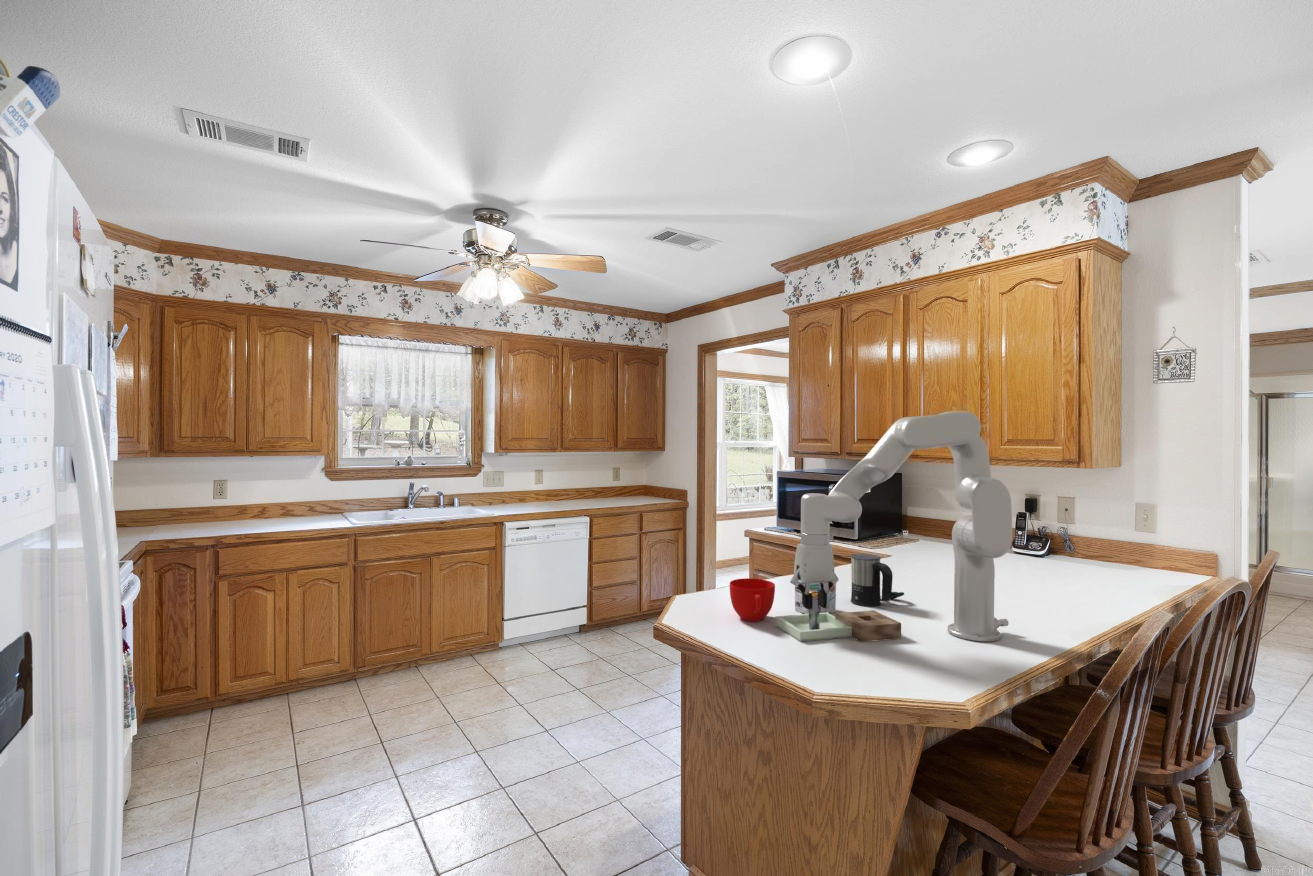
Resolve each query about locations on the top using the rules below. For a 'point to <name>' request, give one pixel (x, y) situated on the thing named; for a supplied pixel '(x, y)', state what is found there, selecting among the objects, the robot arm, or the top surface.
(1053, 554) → the top surface
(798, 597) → the light bulb box
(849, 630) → the tray
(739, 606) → the ceramic cup
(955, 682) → the top surface
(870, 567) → the milk frother
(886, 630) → the block
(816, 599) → the pin
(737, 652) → the top surface
